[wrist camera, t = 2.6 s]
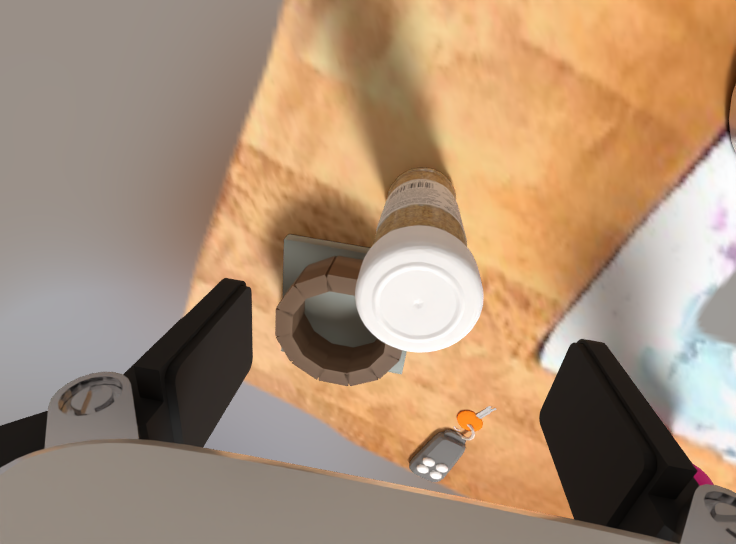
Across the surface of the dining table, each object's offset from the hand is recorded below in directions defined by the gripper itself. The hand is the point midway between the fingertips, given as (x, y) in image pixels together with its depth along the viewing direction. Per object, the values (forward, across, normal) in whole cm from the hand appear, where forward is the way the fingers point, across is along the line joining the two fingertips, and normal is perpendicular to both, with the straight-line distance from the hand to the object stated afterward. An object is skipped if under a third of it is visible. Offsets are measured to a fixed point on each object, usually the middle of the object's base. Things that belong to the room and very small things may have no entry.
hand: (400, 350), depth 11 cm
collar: (+16, +3, +9) cm, 18 cm away
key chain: (+17, -8, +20) cm, 27 cm away
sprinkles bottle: (+16, -1, 0) cm, 16 cm away
